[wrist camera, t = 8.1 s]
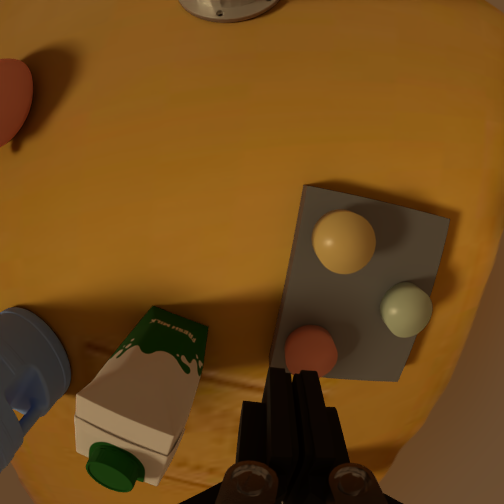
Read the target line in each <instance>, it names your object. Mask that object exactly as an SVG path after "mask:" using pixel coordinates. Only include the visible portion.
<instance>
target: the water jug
mask: <svg viewBox="0 0 504 504" xmlns="http://www.w3.org/2000/svg"><path fill="white" fill-rule="evenodd" d="M70 381H71V369H70V364H69V360H68V357H67V354H66V352H65V350H64V348H63V346H62V344H61V342H60V341H59V339H58V337H57V336H56V335H55V333H54V332H53V331H52V330H51V328H50V327H49V326H48V325H47V324H46V323H45V322H44V321H43V320H42V319H41V318H39V317H38V316H37V315H35V314H34V313H32V312H30V311H28V310H26V309H23V308H18V307H11V308H8V309H6V310H4V311H2V312H1V313H0V472H1V471H2V470H3V469H4V468H5V467H6V466H7V465H8V464H9V462H10V461H11V460H12V458H13V457H14V454H15V453H16V451H17V450H18V449H19V447H20V446H21V445H22V443H23V437H24V436H25V435H26V433H27V432H28V431H29V430H30V428H31V427H32V426H33V425H34V423H35V422H36V421H37V420H38V419H39V417H42V416H44V415H45V414H46V413H47V412H48V411H49V410H50V409H51V407H52V406H53V405H54V404H55V402H56V401H57V400H58V399H60V398H61V397H62V396H63V394H64V393H65V392H66V391H67V389H68V387H69V385H70ZM12 409H15V410H17V411H18V412H20V413H22V414H24V416H23V417H22V419H21V420H20V421H18V419H17V417H16V415H15V413H14V411H13V410H12Z"/></svg>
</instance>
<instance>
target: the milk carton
mask: <svg viewBox="0 0 504 504" xmlns="http://www.w3.org/2000/svg"><path fill="white" fill-rule="evenodd" d="M207 334H208V326H205V325H203V324H200V323H197V322H194V321H192V320H189V319H186V318H184V317H181V316H178V315H176V314H173V313H171V312H168V311H165V310H163V309H160V308H158V307H155V306H152V307H151V308H150V310H149V311H148V312H147V313H146V314H145V316H144V317H143V318H142V319H141V320H140V322H139V323H138V324H137V325H136V327H135V328H134V329H133V330H132V331H131V333H130V334H129V335H128V336H127V338H126V339H125V340H124V341H123V342H122V344H121V345H120V346H119V347H118V349H117V350H116V351H115V352H114V354H113V355H112V356H111V357H110V359H109V360H108V361H107V363H106V364H105V365H104V366H103V368H102V369H101V370H100V371H99V373H98V374H97V375H96V377H95V378H94V379H93V381H92V382H91V383H89V384H88V385H87V386H86V387H84V388H83V389H82V390H81V391H80V392H78V393H77V394H76V412H75V416H74V424H75V437H76V451H77V452H78V453H80V454H82V455H84V456H86V457H89V460H88V462H87V464H86V470H87V472H88V474H89V475H90V476H91V477H92V478H93V479H94V480H95V481H96V482H98V483H99V484H101V485H102V486H104V487H106V488H108V489H111V490H114V491H117V492H129V491H131V490H132V489H133V487H134V485H135V482H136V480H138V481H141V482H143V481H144V482H146V483H149V484H151V485H154V486H158V484H159V482H160V481H161V479H162V477H163V475H164V474H165V472H166V470H167V468H168V467H169V465H170V463H171V461H172V459H173V457H174V454H175V452H176V450H177V448H178V446H179V443H180V441H181V439H182V436H183V434H184V431H185V428H184V427H185V424H186V422H187V419H188V416H189V413H190V410H191V406H192V403H193V400H194V397H195V393H196V390H197V387H198V384H199V380H200V377H201V373H202V369H203V364H204V356H205V348H206V341H207ZM183 429H184V431H183ZM182 432H183V433H182ZM181 434H182V435H181ZM180 436H181V437H180ZM179 438H180V439H179ZM178 440H179V441H178Z"/></svg>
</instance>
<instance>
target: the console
mask: <svg viewBox="0 0 504 504" xmlns="http://www.w3.org/2000/svg"><path fill="white" fill-rule="evenodd" d="M337 209H344V210H349V211H351V212H353V213H356V214H358V215H360V216H362V217H364V218H365V219H366V220H367V221H368V222H369V223H370V225H371V226H372V228H373V230H374V233H375V237H376V246H375V251H374V254H373V256H372V258H371V260H370V261H369V262H368V264H367V265H366V266H364V267H363V268H362V269H360V270H359V271H357V272H354V273H351V274H338V273H335V272H332V271H330V270H329V269H327V268H326V267H325V266H324V265H323V264H322V263H321V261H320V260H319V258H318V257H317V255H316V253H315V252H314V249H313V246H312V232H313V228H314V226H315V224H316V222H317V221H318V220H319V219H320V218H321V217H322V216H323V215H324V214H326V213H327V212H330V211H332V210H337ZM449 222H450V219H448V218H444V217H441V216H437V215H433V214H430V213H426V212H422V211H418V210H415V209H411V208H407V207H403V206H399V205H395V204H390V203H386V202H382V201H378V200H373V199H369V198H365V197H360V196H356V195H351V194H347V193H342V192H337V191H332V190H327V189H322V188H317V187H312V186H307V185H303V191H302V196H301V202H300V207H299V213H298V218H297V224H296V229H295V234H294V240H293V245H292V250H291V255H290V260H289V265H288V270H287V275H286V280H285V285H284V290H283V295H282V300H281V304H280V309H279V314H278V318H277V323H276V328H275V332H274V337H273V341H272V346H271V350H270V355H269V367H275V368H285V372H286V373H291V372H290V371H289V370H288V368H287V366H286V360H285V350H284V346H285V342H286V339H287V337H288V336H289V335H290V334H291V333H292V332H293V331H294V330H295V329H297V328H299V327H302V326H305V325H317V326H321V327H323V328H325V329H326V330H327V331H328V332H329V333H330V334H331V336H332V339H333V341H334V344H335V346H336V349H337V353H338V357H337V362H336V364H335V366H334V367H333V369H332V370H331V371H330V372H329V373H327V374H326V375H324V376H322V377H326V378H338V379H351V380H368V381H393V382H398V380H399V378H400V375H401V373H402V371H403V368H404V366H405V364H406V361H407V359H408V356H409V354H410V351H411V349H412V346H413V344H414V341H415V338H416V336H417V334H416V335H414V336H411V337H406V338H402V337H398V336H396V335H394V334H393V333H392V332H391V331H390V329H389V328H388V327H387V325H386V324H385V323H384V321H383V320H382V318H381V315H380V304H381V301H382V298H383V297H384V295H385V293H386V292H387V291H388V290H389V289H390V288H391V287H393V286H394V285H396V284H399V283H403V282H409V283H412V284H415V285H416V286H417V287H419V288H420V289H421V290H422V291H424V292H425V293H426V294H427V295H428V296H429V297H430V295H431V292H432V288H433V285H434V282H435V278H436V275H437V271H438V267H439V264H440V260H441V256H442V252H443V248H444V244H445V240H446V236H447V231H448V227H449ZM291 374H292V373H291Z"/></svg>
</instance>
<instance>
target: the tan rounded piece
mask: <svg viewBox="0 0 504 504" xmlns="http://www.w3.org/2000/svg"><path fill="white" fill-rule="evenodd" d="M312 246H313V249H314V252H315V253H316V255H317V257H318V258H319V260H320V261H321V263H322V264H323V265H324V266H325V267H326V268H327V269H329V270H330V271H332V272H335V273H338V274H351V273H354V272H357V271H359V270H360V269H362V268H363V267H364V266H366V265H367V264H368V262H369V261H370V260H371V258H372V256H373V254H374V251H375V246H376V237H375V233H374V230H373V228H372V226H371V225H370V223H369V222H368V221H367V220H366V219H365V218H364V217H362V216H360V215H358V214H356V213H353V212H351V211H349V210H344V209H337V210H332V211H330V212H327V213H326V214H324V215H323V216H322V217H321V218H320V219H319V220H318V221H317V222H316V224H315V226H314V228H313V232H312Z"/></svg>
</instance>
